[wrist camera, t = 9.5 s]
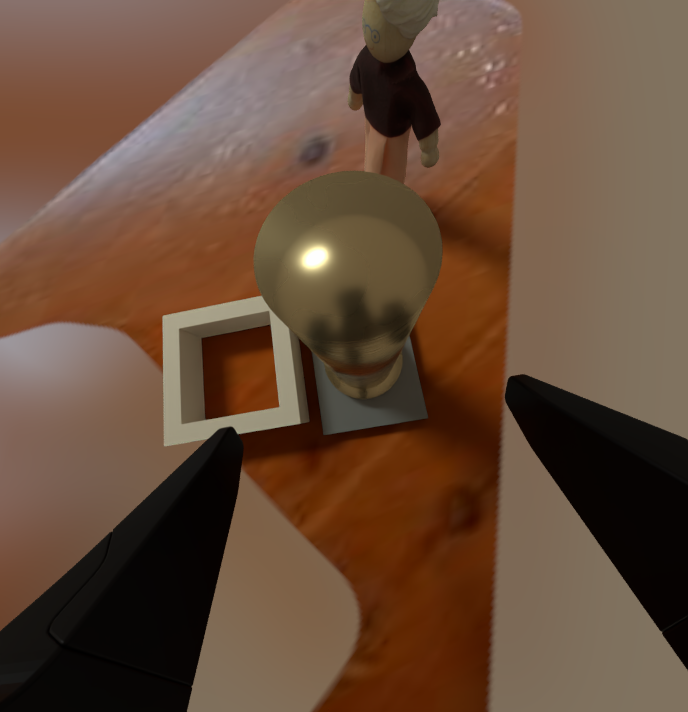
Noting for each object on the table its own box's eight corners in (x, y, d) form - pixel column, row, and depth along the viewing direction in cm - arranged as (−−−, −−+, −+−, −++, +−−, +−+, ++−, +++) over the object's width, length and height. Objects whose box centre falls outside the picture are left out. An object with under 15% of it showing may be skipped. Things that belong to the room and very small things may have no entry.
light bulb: (408, 392, 17) (506, 345, 5) (332, 405, 18) (235, 392, 5) (392, 320, 19) (438, 126, 6) (321, 333, 19) (220, 177, 6)
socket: (309, 421, 18) (300, 423, 16) (190, 441, 19) (163, 446, 17) (294, 305, 20) (284, 291, 18) (186, 326, 21) (162, 315, 19)
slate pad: (425, 417, 18) (428, 418, 17) (325, 434, 18) (323, 435, 17) (398, 297, 20) (399, 292, 19) (308, 314, 20) (306, 311, 19)
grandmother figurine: (333, 197, 22) (285, -73, 10) (361, 165, 22) (348, -133, 10) (407, 243, 21) (462, -9, 8) (436, 208, 21) (530, -83, 9)
